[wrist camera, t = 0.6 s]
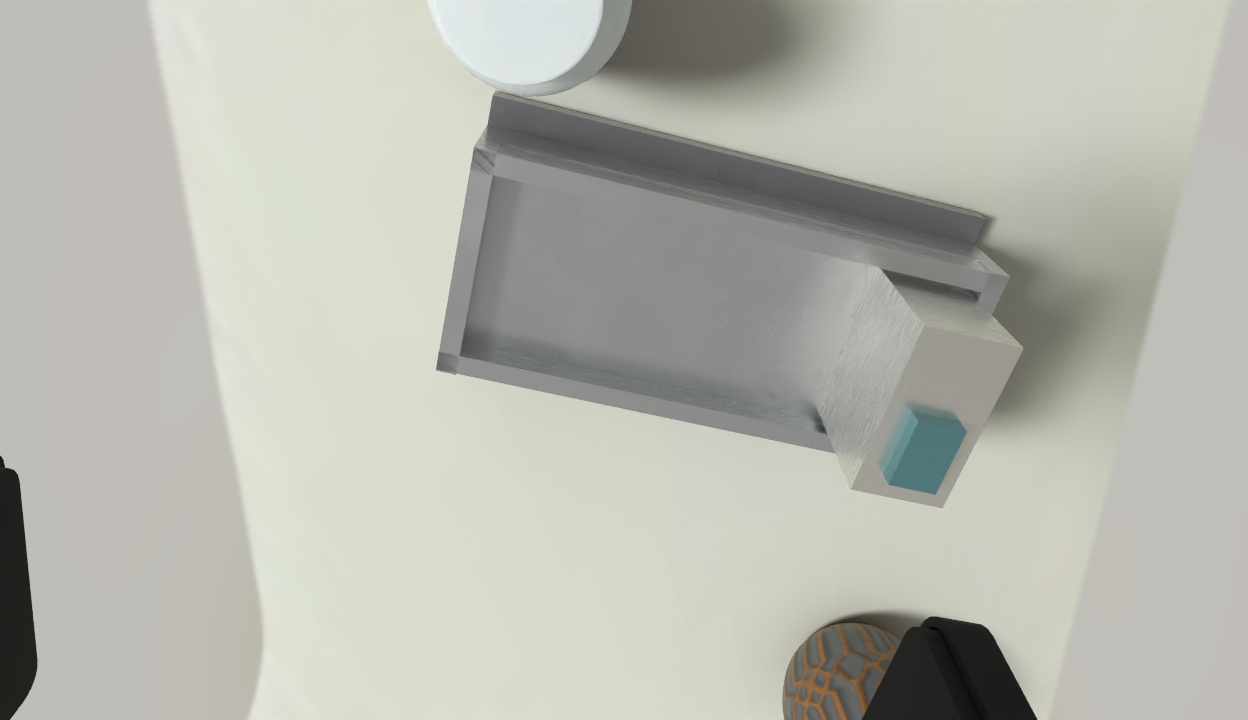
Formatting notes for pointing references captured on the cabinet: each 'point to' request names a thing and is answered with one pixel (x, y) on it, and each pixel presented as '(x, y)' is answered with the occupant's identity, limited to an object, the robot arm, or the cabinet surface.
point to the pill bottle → (531, 40)
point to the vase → (837, 672)
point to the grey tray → (727, 295)
